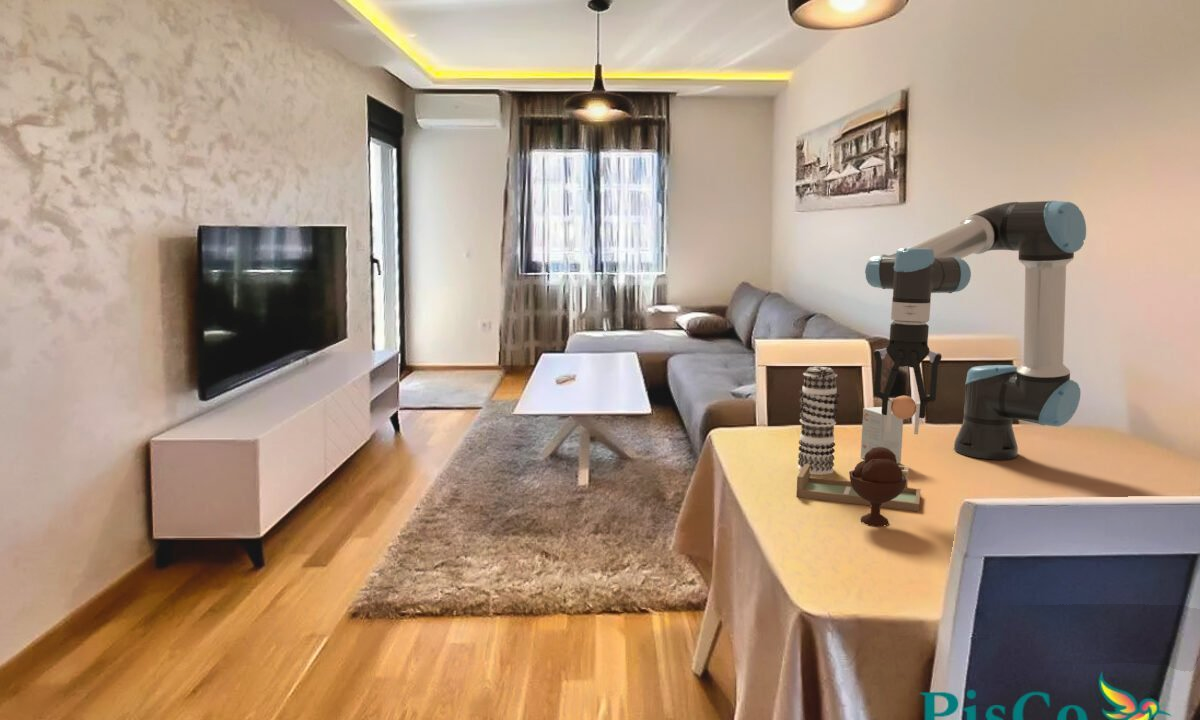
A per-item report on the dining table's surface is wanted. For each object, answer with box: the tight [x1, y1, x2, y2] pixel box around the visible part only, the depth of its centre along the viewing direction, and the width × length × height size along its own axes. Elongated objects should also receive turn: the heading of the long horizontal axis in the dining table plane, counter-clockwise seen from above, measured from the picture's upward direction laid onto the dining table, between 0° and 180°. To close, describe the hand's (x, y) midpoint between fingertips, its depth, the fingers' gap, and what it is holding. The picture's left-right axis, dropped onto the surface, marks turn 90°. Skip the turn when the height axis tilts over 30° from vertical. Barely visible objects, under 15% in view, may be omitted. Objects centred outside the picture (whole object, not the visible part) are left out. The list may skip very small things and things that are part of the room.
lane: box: [795, 464, 921, 512], centre depth 184 cm, size 25×11×4 cm, turn 68°
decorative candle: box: [797, 365, 840, 476], centre depth 202 cm, size 9×9×25 cm
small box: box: [860, 406, 904, 464], centre depth 212 cm, size 8×6×13 cm
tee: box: [898, 464, 910, 488], centre depth 189 cm, size 4×4×5 cm
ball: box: [891, 395, 916, 420], centre depth 178 cm, size 5×5×5 cm
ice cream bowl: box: [848, 447, 907, 527], centre depth 167 cm, size 11×11×15 cm
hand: (902, 431), depth 179 cm, fingers closed on ball, 5 cm apart
